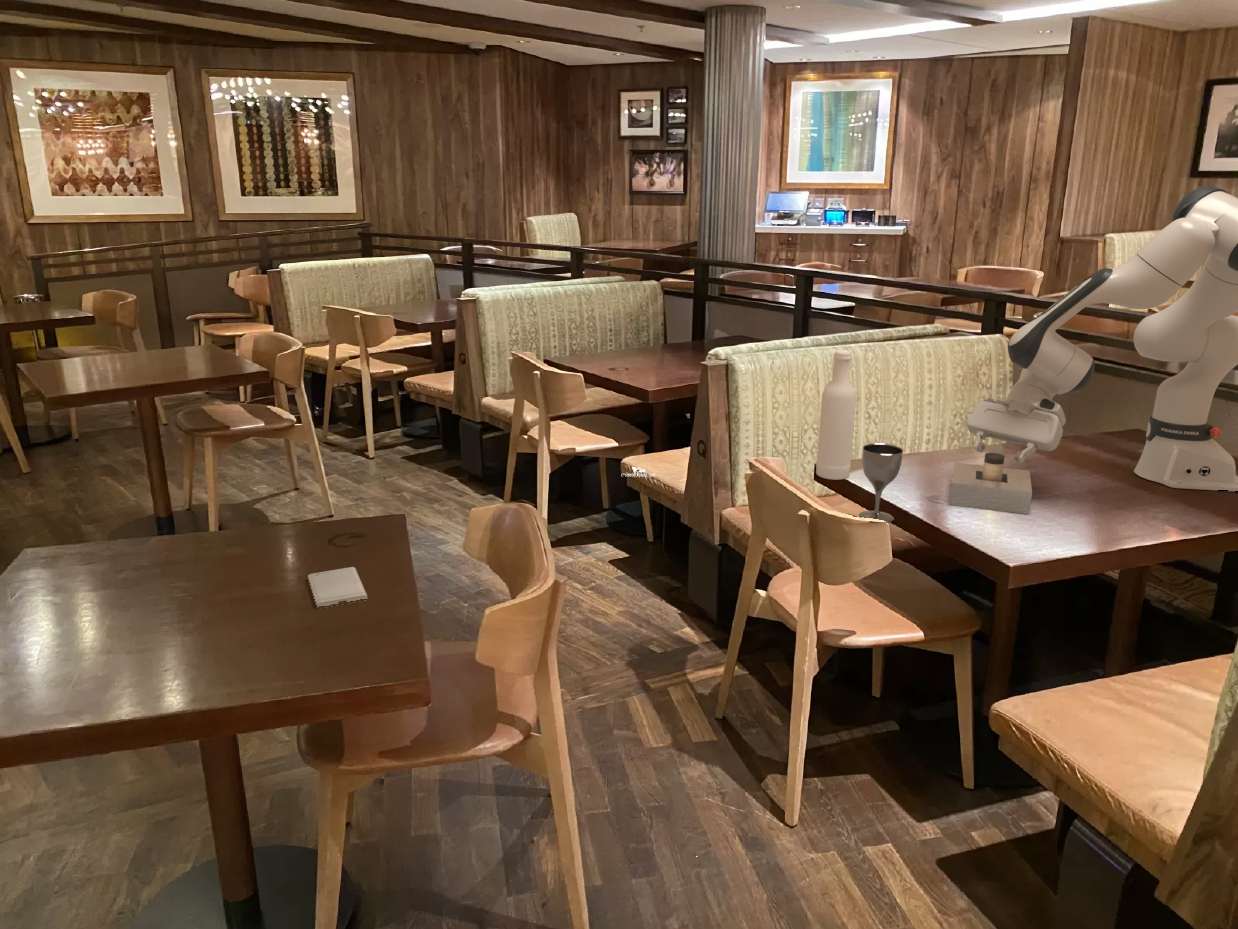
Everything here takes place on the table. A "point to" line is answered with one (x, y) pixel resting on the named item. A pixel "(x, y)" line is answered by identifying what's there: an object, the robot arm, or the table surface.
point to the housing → (991, 489)
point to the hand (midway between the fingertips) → (997, 455)
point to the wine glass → (880, 472)
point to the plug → (993, 467)
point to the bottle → (836, 422)
